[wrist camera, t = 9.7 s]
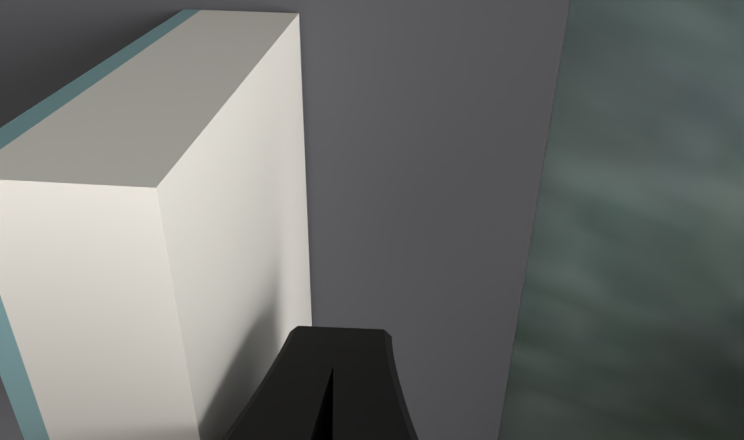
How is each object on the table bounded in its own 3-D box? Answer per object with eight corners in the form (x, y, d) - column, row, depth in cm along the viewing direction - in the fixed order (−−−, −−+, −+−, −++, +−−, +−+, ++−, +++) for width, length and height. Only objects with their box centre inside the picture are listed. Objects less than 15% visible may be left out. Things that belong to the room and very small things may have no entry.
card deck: (314, 397, 15) (247, 711, 10) (232, 391, 16) (119, 697, 10) (299, 12, 11) (156, 187, 5) (183, 9, 11) (-73, 176, 5)
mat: (483, 495, 18) (485, 514, 18) (-42, 470, 18) (-55, 488, 18) (615, -342, 9) (628, -353, 8) (-420, -352, 9) (-469, -363, 9)
